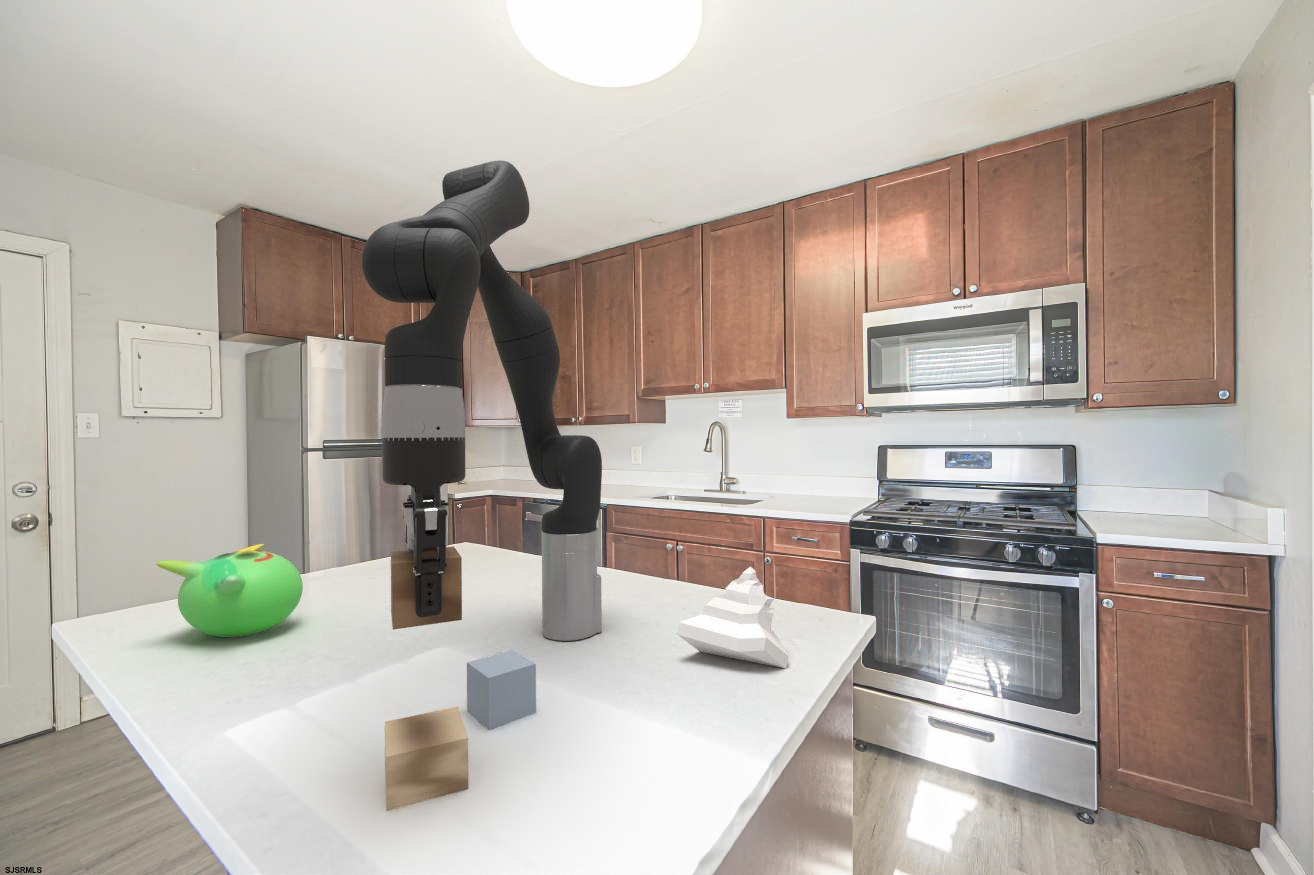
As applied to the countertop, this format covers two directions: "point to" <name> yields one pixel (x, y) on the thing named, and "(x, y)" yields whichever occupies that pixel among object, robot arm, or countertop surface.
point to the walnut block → (406, 594)
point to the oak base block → (425, 757)
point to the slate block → (501, 688)
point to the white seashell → (737, 625)
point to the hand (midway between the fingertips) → (425, 605)
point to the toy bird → (237, 591)
